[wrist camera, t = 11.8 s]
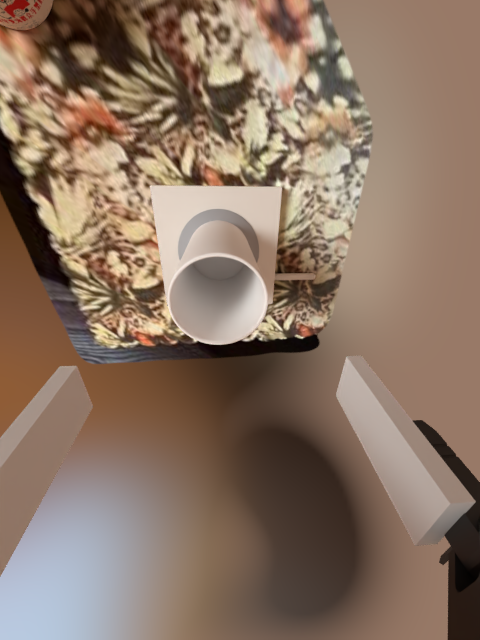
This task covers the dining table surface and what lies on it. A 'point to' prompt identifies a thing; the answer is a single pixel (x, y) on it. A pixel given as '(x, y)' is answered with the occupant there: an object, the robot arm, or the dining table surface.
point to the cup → (217, 286)
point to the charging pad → (226, 205)
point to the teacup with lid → (24, 13)
